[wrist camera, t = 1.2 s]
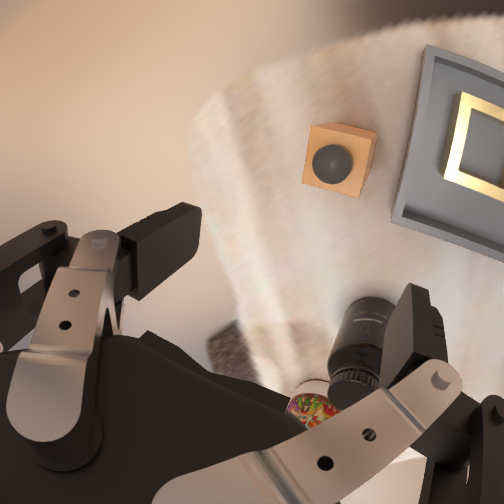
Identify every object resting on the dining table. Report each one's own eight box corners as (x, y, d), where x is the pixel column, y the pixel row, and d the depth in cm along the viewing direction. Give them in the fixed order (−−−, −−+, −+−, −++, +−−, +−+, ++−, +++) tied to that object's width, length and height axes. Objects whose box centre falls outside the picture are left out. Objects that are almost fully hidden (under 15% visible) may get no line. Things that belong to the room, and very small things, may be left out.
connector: (377, 133, 26) (369, 141, 17) (369, 173, 28) (355, 204, 19) (336, 122, 27) (304, 126, 18) (329, 162, 29) (295, 187, 20)
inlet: (522, 123, 18) (536, 125, 15) (504, 197, 22) (516, 208, 19) (453, 94, 20) (462, 91, 18) (438, 171, 24) (443, 178, 21)
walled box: (575, 122, 15) (591, 125, 12) (534, 264, 23) (545, 280, 20) (422, 52, 21) (426, 44, 18) (391, 210, 28) (390, 222, 26)
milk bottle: (352, 409, 41) (310, 527, 25) (308, 413, 45) (256, 518, 29) (335, 375, 40) (283, 504, 23) (288, 381, 44) (225, 493, 27)
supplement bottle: (379, 284, 32) (365, 360, 22) (411, 327, 32) (405, 407, 22) (332, 313, 36) (301, 386, 26) (364, 351, 36) (343, 427, 26)
